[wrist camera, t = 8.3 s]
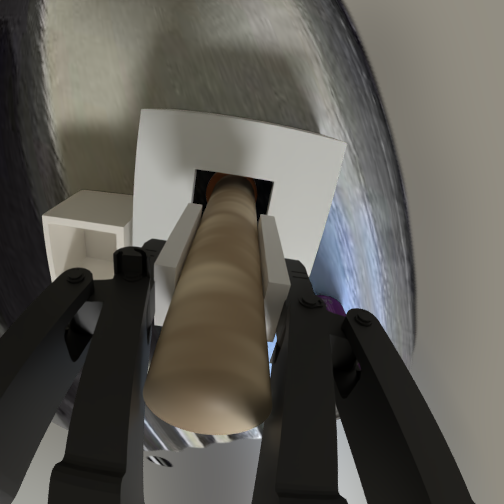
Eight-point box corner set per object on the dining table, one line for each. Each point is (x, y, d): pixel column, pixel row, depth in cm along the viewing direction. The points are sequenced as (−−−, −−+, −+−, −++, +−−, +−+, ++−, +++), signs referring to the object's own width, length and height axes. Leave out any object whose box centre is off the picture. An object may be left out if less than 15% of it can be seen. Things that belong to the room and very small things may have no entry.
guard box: (156, 236, 27) (133, 274, 21) (169, 108, 22) (141, 108, 15) (289, 256, 28) (301, 299, 22) (320, 133, 23) (347, 143, 17)
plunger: (206, 204, 25) (202, 214, 23) (213, 160, 24) (209, 166, 21) (251, 211, 26) (252, 222, 23) (260, 167, 24) (261, 174, 22)
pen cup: (85, 257, 28) (54, 293, 22) (81, 189, 24) (42, 215, 18) (149, 268, 29) (127, 311, 22) (151, 197, 25) (123, 227, 19)
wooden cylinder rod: (210, 210, 23) (148, 424, 7) (216, 171, 21) (136, 355, 5) (250, 216, 23) (258, 438, 7) (257, 178, 22) (287, 376, 6)
